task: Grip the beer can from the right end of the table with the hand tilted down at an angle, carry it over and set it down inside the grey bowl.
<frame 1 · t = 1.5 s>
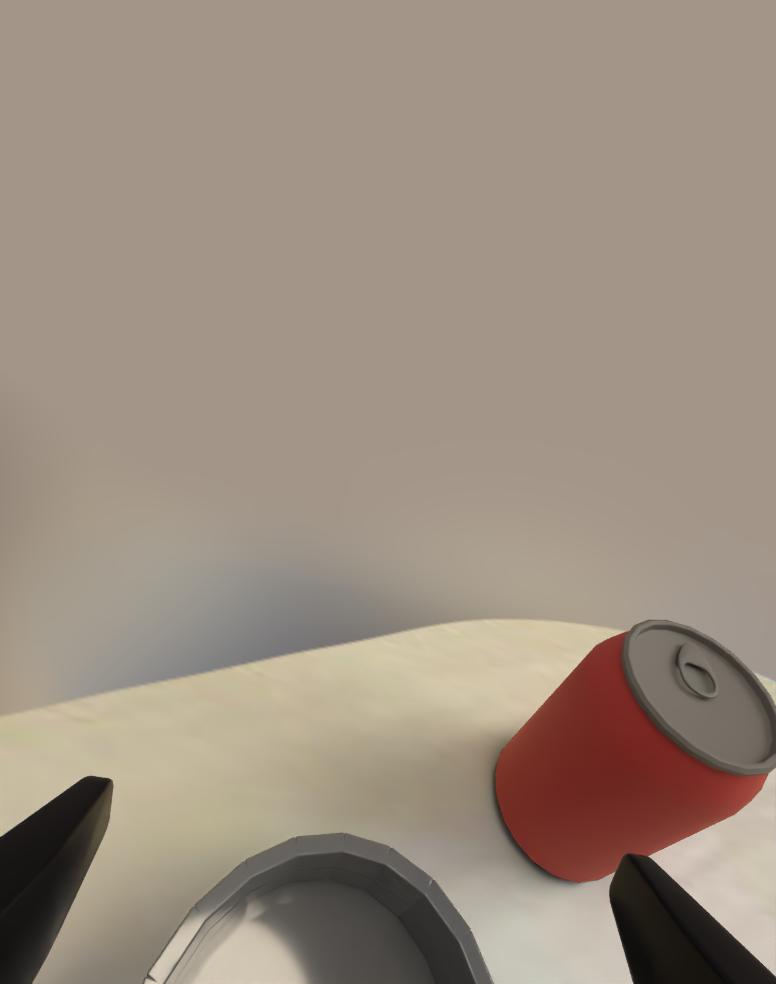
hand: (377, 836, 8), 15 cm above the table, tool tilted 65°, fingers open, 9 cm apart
beer can: (551, 804, 24), on the table
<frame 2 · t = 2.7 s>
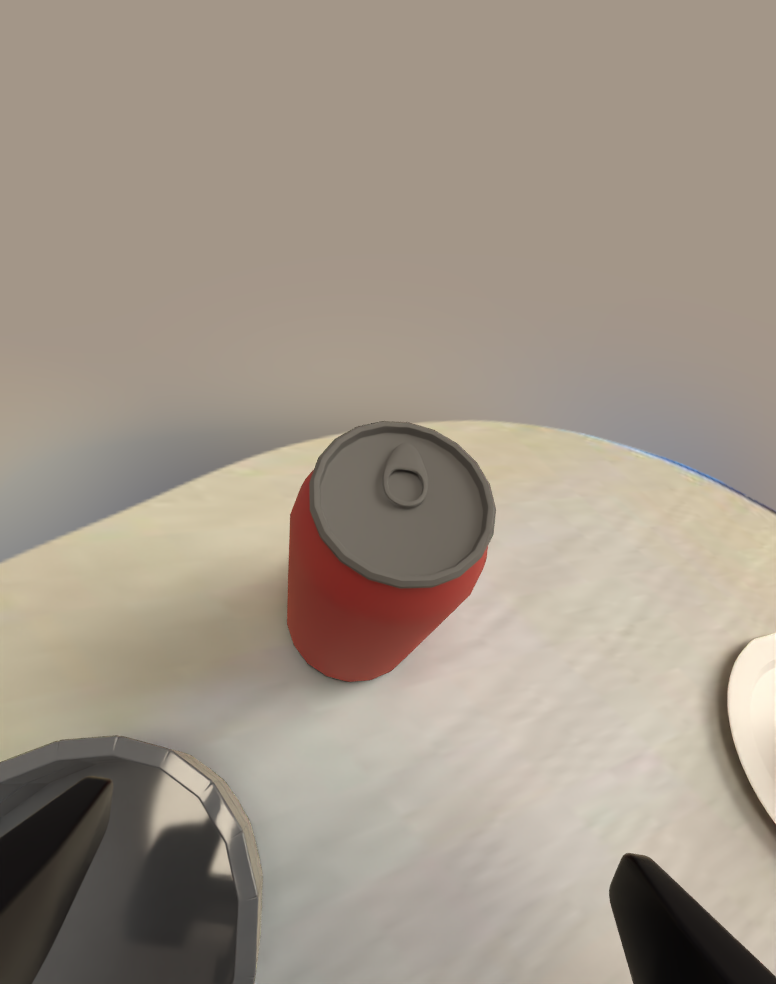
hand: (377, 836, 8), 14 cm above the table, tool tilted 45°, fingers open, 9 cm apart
grey bowl: (95, 927, 16), on the table
beer can: (352, 615, 24), on the table
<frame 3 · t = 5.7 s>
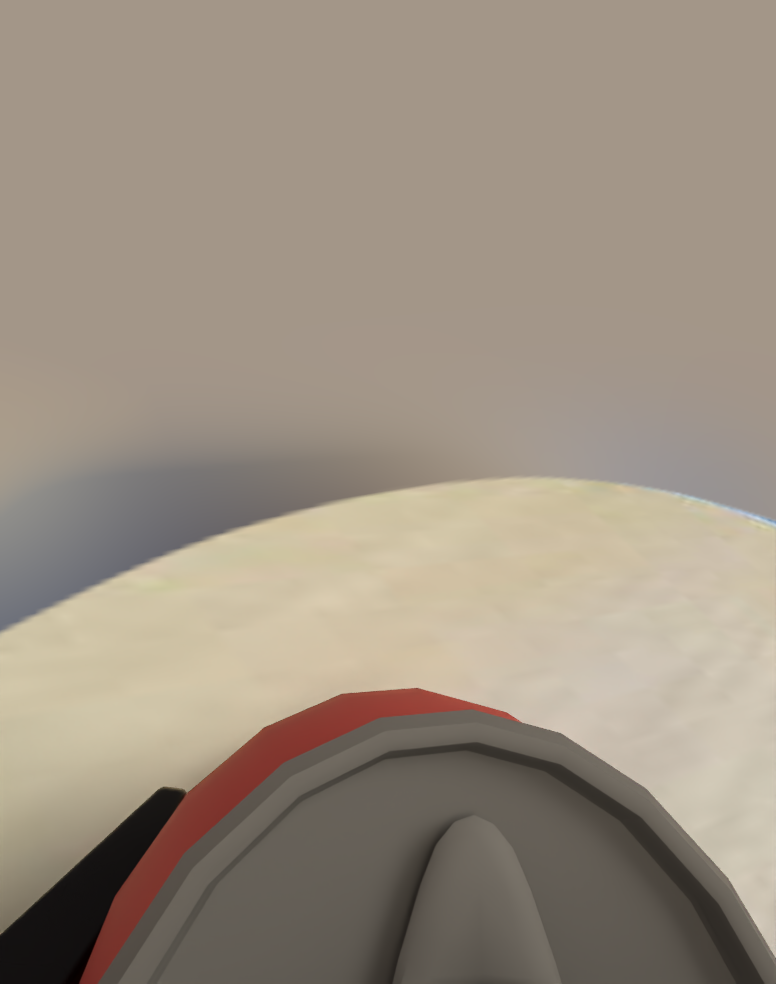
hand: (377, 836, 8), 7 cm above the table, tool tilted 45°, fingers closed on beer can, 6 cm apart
beer can: (327, 872, 13), on the table, touching gripper
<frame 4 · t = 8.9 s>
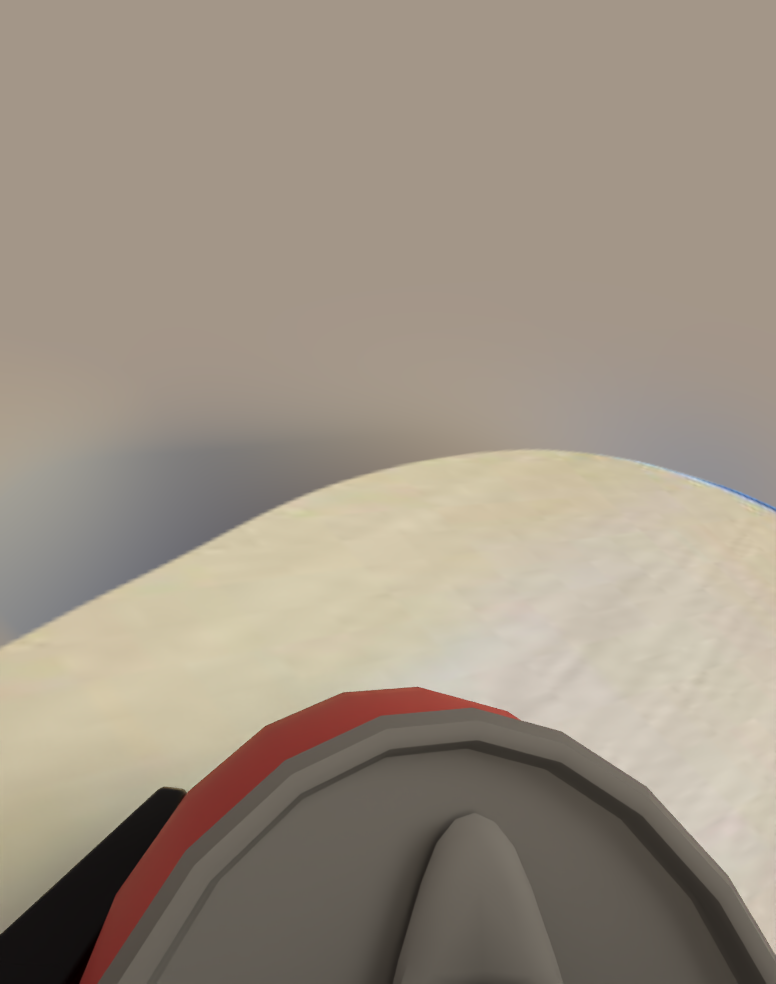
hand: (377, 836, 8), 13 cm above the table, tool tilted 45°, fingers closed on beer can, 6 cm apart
beer can: (327, 871, 13), point 6 cm above the table, touching gripper
when the fingers open (7 cm above the table, at t = 12.2 s): beer can stays where it is, resting on grey bowl.
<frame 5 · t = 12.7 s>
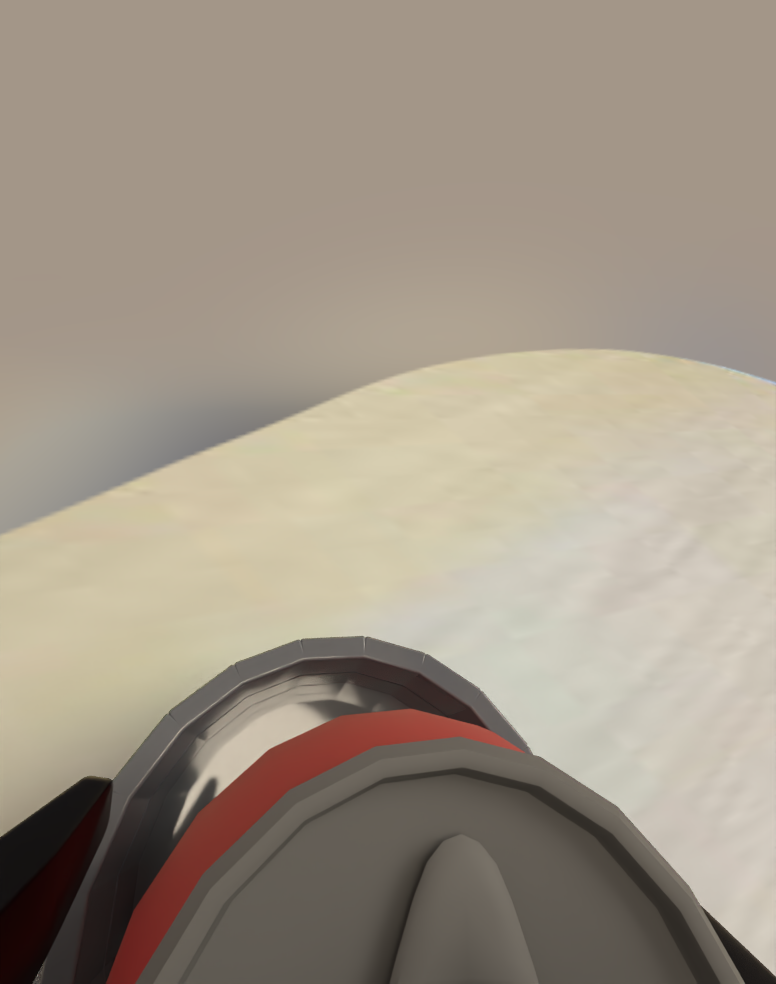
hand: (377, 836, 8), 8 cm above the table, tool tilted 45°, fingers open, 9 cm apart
grey bowl: (324, 869, 14), on the table
beer can: (328, 877, 13), resting on grey bowl
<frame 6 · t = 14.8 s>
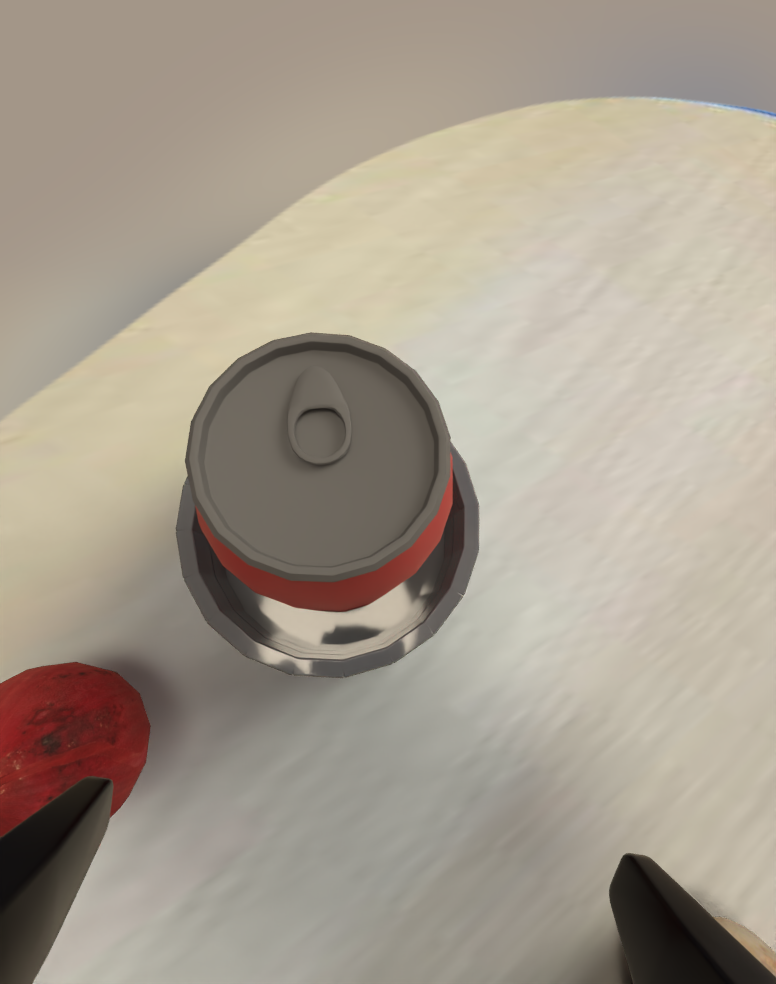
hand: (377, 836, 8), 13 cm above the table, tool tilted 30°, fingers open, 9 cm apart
grey bowl: (335, 536, 22), on the table
beer can: (337, 538, 22), resting on grey bowl
onion: (108, 728, 19), on the table
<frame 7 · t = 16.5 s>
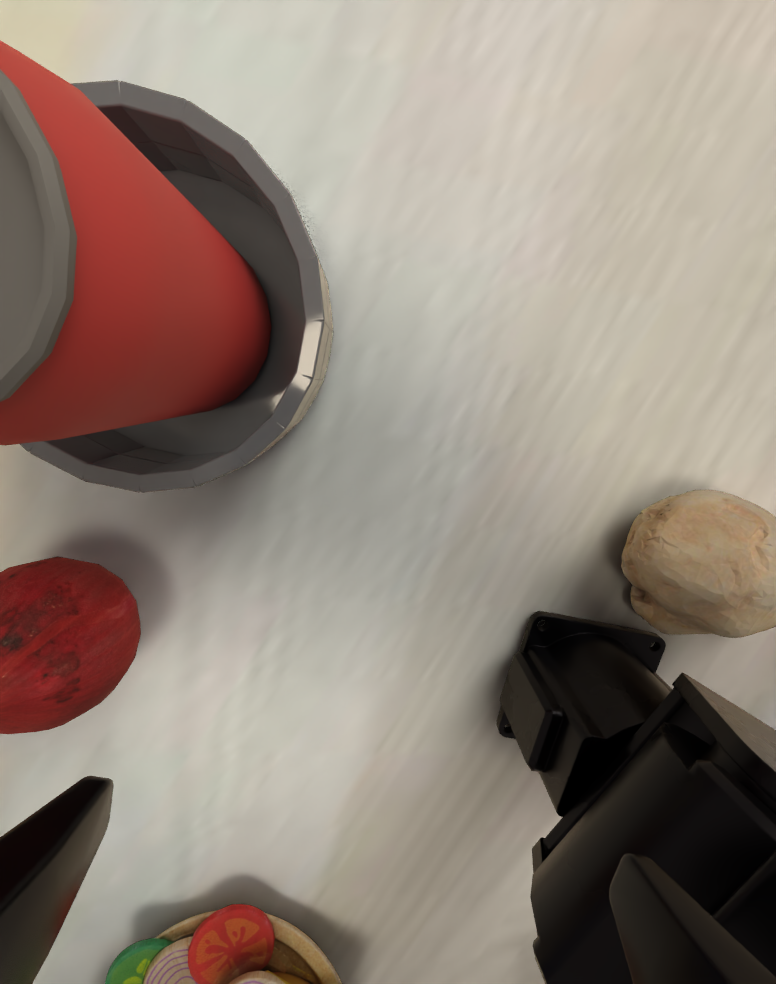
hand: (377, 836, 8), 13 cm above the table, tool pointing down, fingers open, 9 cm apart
grey bowl: (187, 323, 18), on the table
beer can: (188, 324, 18), resting on grey bowl
stone: (681, 556, 22), on the table
onion: (106, 592, 21), on the table
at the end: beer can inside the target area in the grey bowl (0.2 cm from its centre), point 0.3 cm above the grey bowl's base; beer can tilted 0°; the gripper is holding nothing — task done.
